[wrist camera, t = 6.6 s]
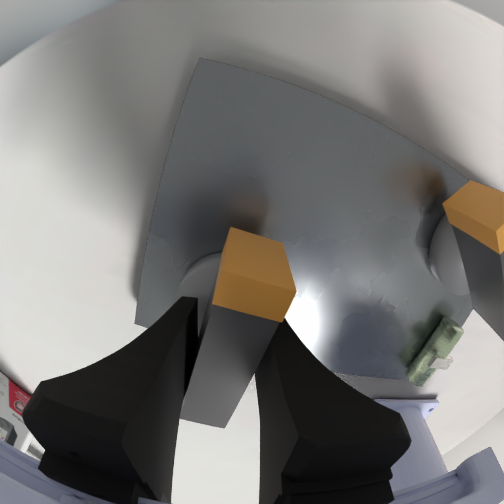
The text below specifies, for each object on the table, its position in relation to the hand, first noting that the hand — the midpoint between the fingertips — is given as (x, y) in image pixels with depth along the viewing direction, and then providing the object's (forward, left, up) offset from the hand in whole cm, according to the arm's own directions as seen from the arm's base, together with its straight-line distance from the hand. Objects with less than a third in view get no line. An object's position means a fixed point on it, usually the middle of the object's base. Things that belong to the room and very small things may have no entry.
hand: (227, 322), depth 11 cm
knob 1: (0, 0, -2) cm, 2 cm away
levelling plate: (+3, -5, -3) cm, 6 cm away
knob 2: (+6, -10, -2) cm, 12 cm away
